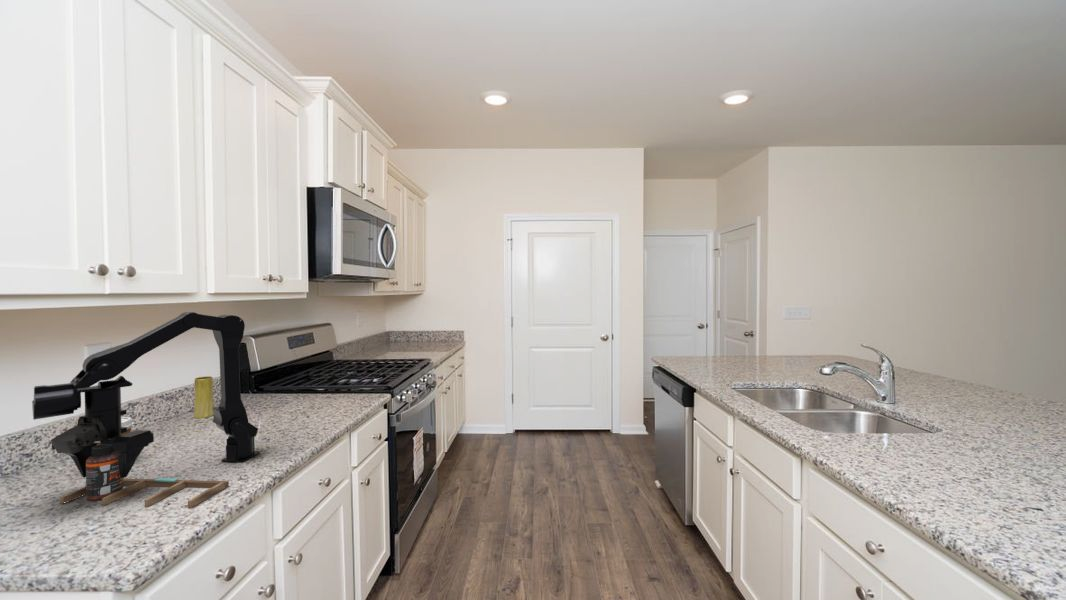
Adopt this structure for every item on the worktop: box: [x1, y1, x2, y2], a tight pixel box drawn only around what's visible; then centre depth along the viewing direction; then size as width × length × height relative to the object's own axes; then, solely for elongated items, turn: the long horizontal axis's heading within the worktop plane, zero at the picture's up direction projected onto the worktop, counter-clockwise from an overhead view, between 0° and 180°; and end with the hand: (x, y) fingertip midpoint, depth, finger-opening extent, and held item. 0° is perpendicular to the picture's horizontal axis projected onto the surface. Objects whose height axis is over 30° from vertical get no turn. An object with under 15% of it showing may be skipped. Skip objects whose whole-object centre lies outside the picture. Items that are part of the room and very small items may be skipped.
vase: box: [193, 375, 215, 419], centre depth 155 cm, size 6×6×14 cm
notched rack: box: [59, 477, 230, 509], centre depth 95 cm, size 10×30×2 cm, turn 86°
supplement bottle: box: [85, 444, 124, 501], centre depth 95 cm, size 6×6×11 cm
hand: (105, 477), depth 95 cm, fingers open, 9 cm apart
